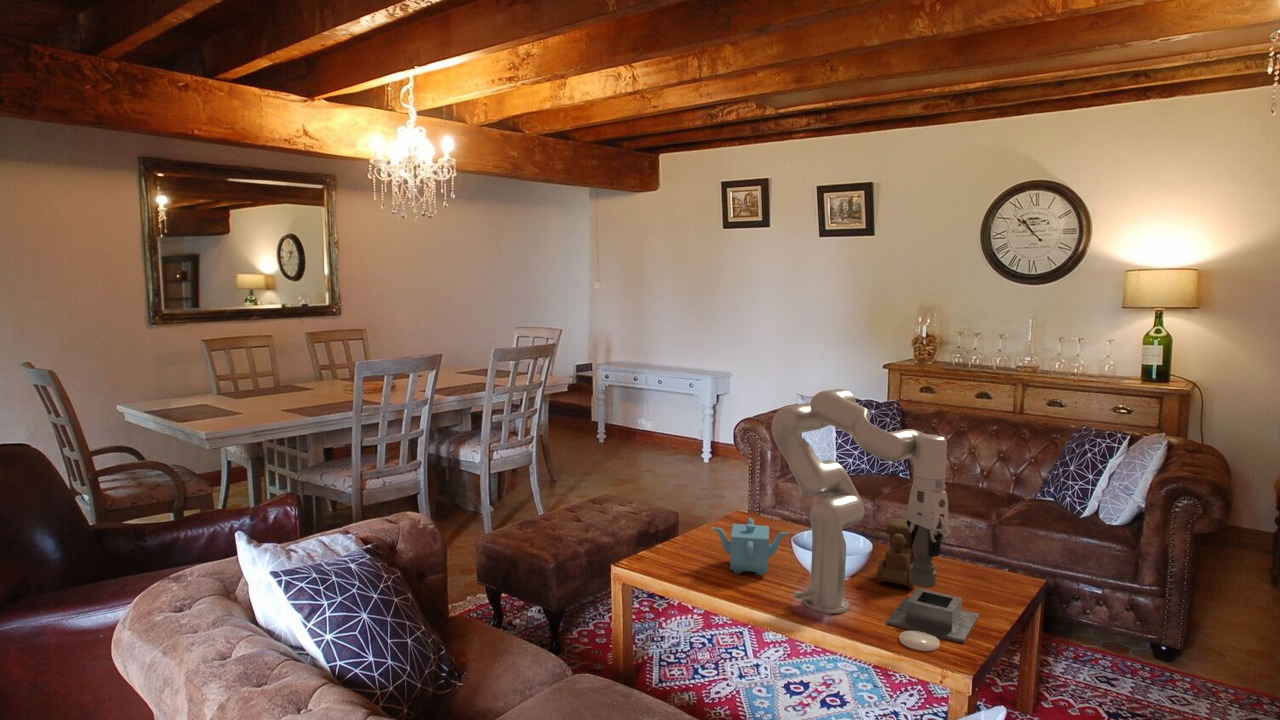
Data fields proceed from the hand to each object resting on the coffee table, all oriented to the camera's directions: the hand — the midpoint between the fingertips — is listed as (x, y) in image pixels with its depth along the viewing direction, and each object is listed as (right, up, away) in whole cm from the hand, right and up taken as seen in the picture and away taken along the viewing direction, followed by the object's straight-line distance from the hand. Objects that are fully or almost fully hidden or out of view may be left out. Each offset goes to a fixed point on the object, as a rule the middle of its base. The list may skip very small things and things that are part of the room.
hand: (924, 551), depth 203 cm
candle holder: (0, -9, +1) cm, 9 cm away
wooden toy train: (+9, -20, +46) cm, 51 cm away
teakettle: (-38, -19, +53) cm, 68 cm away
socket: (+8, -23, +16) cm, 29 cm away
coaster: (-1, -24, +2) cm, 24 cm away
